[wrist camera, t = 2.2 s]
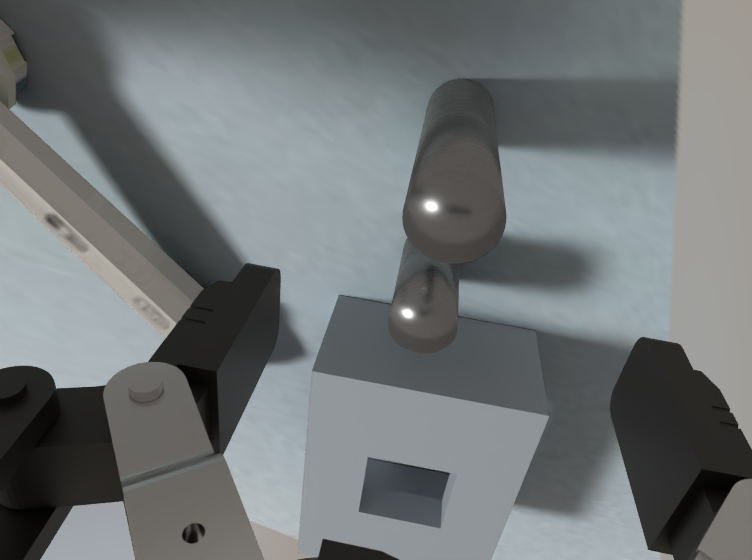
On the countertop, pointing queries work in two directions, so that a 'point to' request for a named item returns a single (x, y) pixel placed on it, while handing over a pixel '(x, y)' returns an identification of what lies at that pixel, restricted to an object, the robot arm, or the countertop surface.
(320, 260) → the countertop surface
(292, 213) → the countertop surface
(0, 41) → the beige toy mallet
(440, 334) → the short pin
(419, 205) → the tall pin
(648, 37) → the countertop surface
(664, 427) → the robot arm
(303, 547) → the bridge
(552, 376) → the countertop surface
